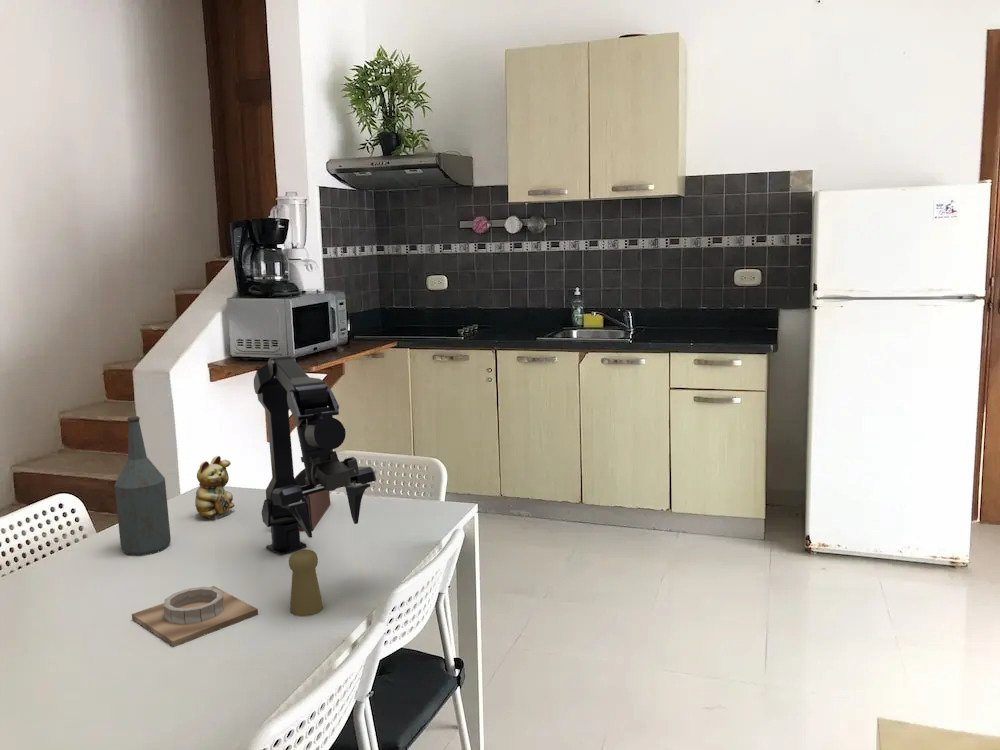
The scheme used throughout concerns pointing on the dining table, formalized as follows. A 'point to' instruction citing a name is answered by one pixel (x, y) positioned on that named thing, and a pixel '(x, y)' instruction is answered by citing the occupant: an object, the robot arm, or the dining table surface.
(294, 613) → the cork
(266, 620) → the dining table surface
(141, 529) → the bottle
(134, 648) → the dining table surface
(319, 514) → the letter holder
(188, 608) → the socket holder
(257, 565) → the dining table surface
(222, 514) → the decorative figurine
